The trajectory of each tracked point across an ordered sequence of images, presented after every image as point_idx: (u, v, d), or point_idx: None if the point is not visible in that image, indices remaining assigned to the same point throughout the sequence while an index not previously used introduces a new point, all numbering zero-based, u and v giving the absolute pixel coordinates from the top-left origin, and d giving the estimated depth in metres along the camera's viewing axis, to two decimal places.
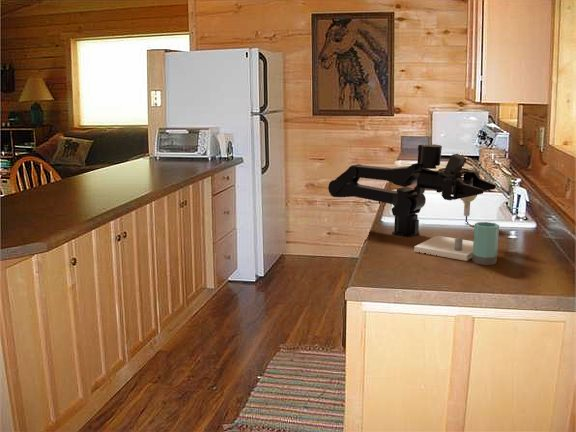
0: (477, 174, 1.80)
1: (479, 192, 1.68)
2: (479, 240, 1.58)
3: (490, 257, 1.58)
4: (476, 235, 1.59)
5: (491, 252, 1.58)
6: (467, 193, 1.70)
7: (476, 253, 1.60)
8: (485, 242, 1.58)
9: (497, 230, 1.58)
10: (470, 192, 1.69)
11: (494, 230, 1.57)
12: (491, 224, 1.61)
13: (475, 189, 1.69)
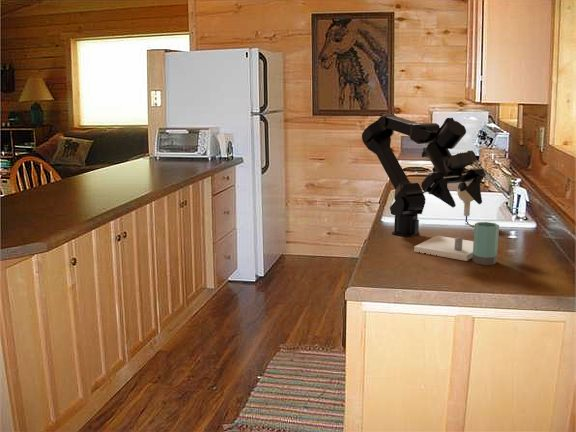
0: (479, 178, 1.69)
1: (451, 204, 1.64)
2: (479, 240, 1.58)
3: (490, 257, 1.58)
4: (476, 235, 1.59)
5: (491, 252, 1.58)
6: (442, 197, 1.65)
7: (476, 253, 1.60)
8: (485, 242, 1.58)
9: (497, 230, 1.58)
10: (444, 198, 1.65)
11: (494, 230, 1.57)
12: (491, 224, 1.61)
13: (449, 200, 1.63)
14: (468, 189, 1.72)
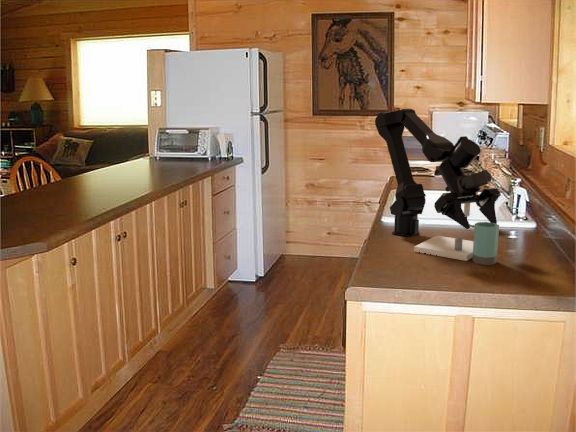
0: (494, 199, 1.65)
1: (465, 226, 1.59)
2: (479, 240, 1.58)
3: (490, 257, 1.58)
4: (476, 235, 1.59)
5: (491, 252, 1.58)
6: (456, 218, 1.61)
7: (476, 253, 1.60)
8: (485, 242, 1.58)
9: (497, 230, 1.58)
10: (458, 219, 1.60)
11: (494, 230, 1.57)
12: (491, 224, 1.61)
13: (463, 221, 1.59)
14: (482, 209, 1.67)
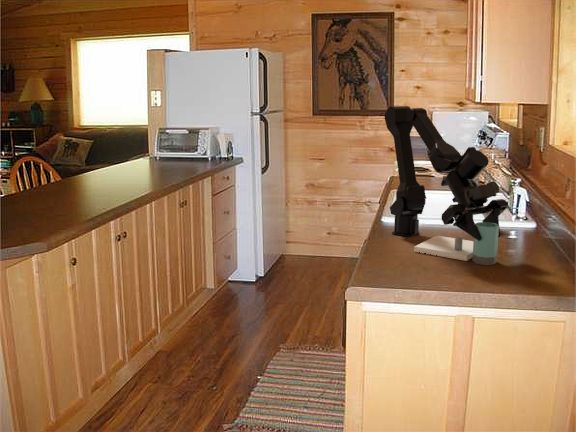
0: (498, 211, 1.62)
1: (476, 238, 1.58)
2: None
3: (490, 257, 1.58)
4: None
5: (491, 252, 1.58)
6: (467, 229, 1.59)
7: (476, 253, 1.60)
8: (485, 242, 1.58)
9: (497, 230, 1.58)
10: (470, 231, 1.59)
11: (494, 230, 1.57)
12: (491, 224, 1.61)
13: (475, 233, 1.58)
14: (486, 221, 1.64)
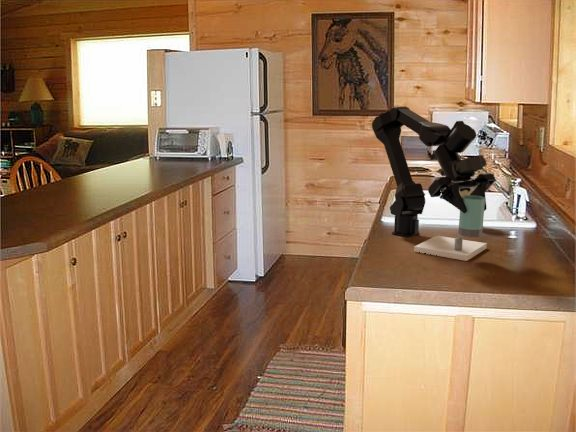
0: (484, 184, 1.64)
1: (462, 210, 1.60)
2: None
3: (475, 229, 1.61)
4: None
5: (476, 224, 1.60)
6: (453, 202, 1.62)
7: (462, 225, 1.62)
8: (470, 214, 1.60)
9: (483, 203, 1.60)
10: (456, 203, 1.61)
11: (479, 203, 1.59)
12: (477, 197, 1.63)
13: (461, 205, 1.60)
14: None
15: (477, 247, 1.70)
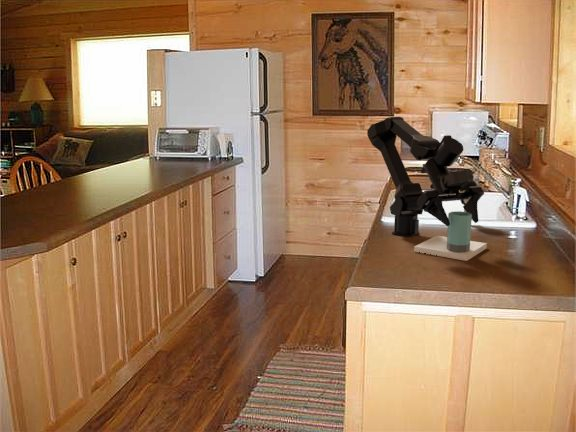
0: (477, 197, 1.68)
1: (445, 223, 1.63)
2: (452, 228, 1.64)
3: (462, 245, 1.64)
4: None
5: (463, 240, 1.64)
6: (437, 215, 1.65)
7: (449, 241, 1.66)
8: (457, 230, 1.64)
9: (469, 219, 1.64)
10: (439, 216, 1.64)
11: (466, 219, 1.63)
12: (465, 213, 1.67)
13: (444, 218, 1.63)
14: (466, 207, 1.71)
15: (477, 247, 1.70)
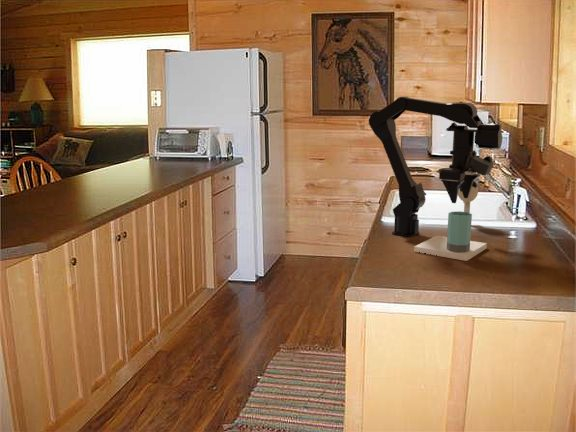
0: (477, 177, 1.82)
1: (452, 200, 1.76)
2: (452, 228, 1.64)
3: (462, 245, 1.64)
4: (449, 224, 1.65)
5: (463, 240, 1.64)
6: (449, 190, 1.75)
7: (449, 241, 1.66)
8: (457, 230, 1.64)
9: (469, 219, 1.64)
10: (451, 192, 1.75)
11: (466, 219, 1.63)
12: (465, 213, 1.67)
13: (454, 196, 1.75)
14: None
15: (477, 247, 1.70)
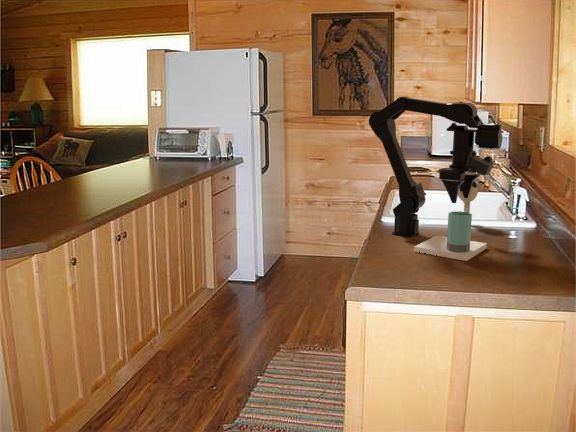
0: (477, 177, 1.82)
1: (452, 200, 1.76)
2: (452, 228, 1.64)
3: (462, 245, 1.64)
4: (449, 224, 1.65)
5: (463, 240, 1.64)
6: (449, 190, 1.75)
7: (449, 241, 1.66)
8: (457, 230, 1.64)
9: (469, 219, 1.64)
10: (451, 192, 1.76)
11: (466, 219, 1.63)
12: (465, 213, 1.67)
13: (454, 197, 1.75)
14: None
15: (477, 247, 1.70)
